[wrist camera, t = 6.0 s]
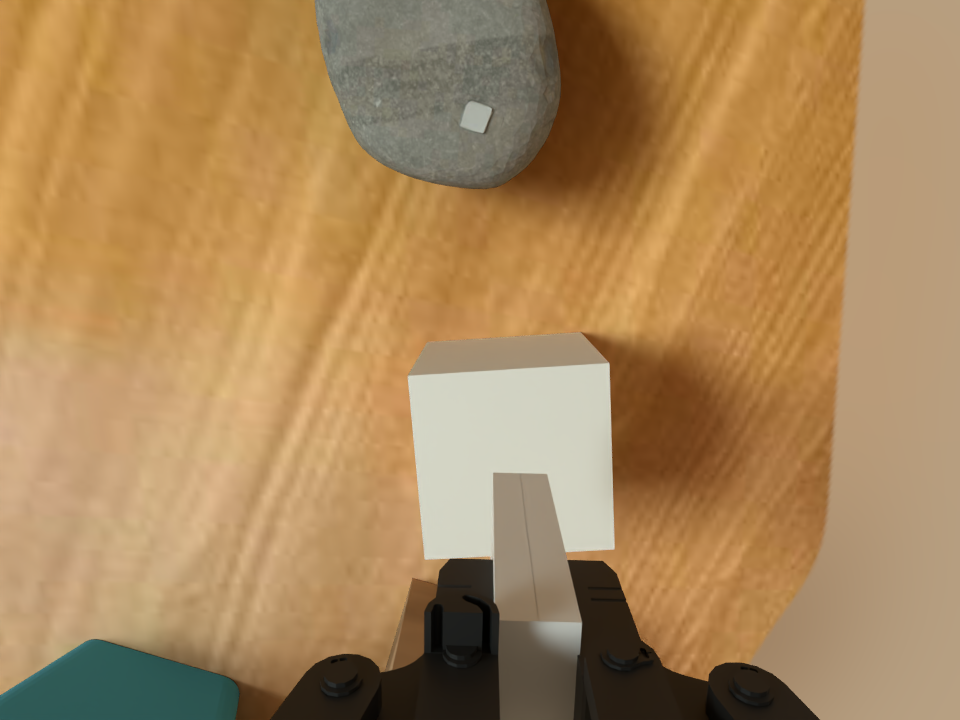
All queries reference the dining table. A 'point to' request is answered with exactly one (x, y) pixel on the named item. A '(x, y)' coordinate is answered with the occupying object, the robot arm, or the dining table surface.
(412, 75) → the stone
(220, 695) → the block
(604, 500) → the plain block
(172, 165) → the dining table surface
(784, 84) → the dining table surface
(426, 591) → the marked block
